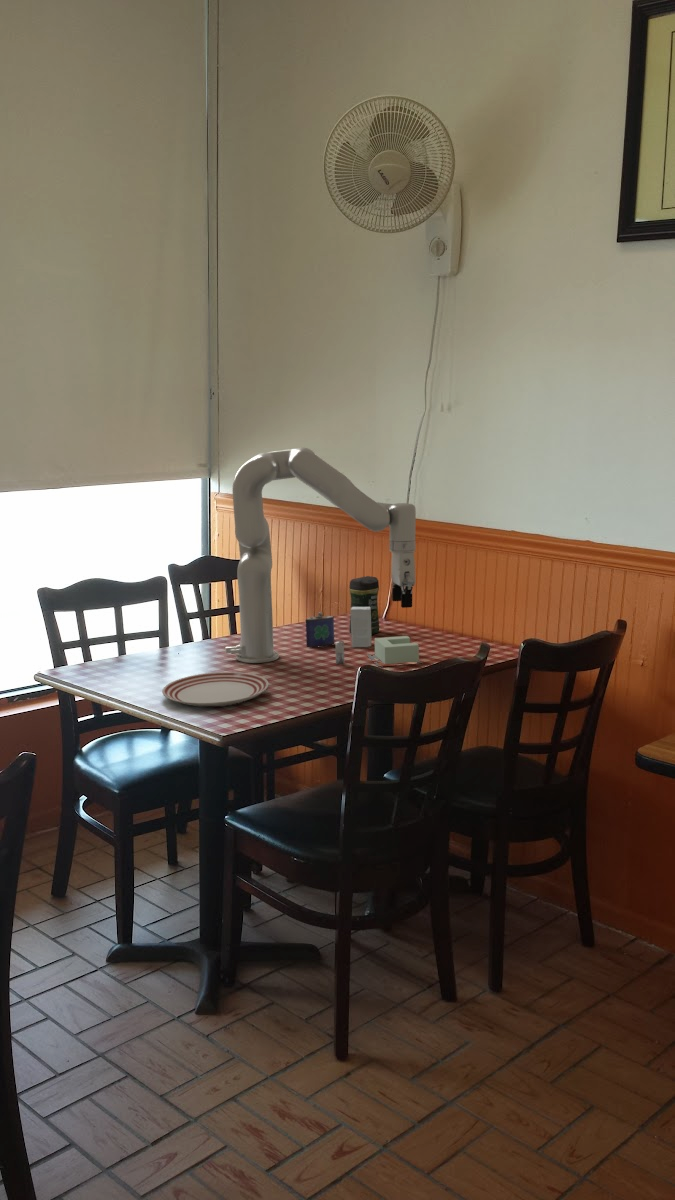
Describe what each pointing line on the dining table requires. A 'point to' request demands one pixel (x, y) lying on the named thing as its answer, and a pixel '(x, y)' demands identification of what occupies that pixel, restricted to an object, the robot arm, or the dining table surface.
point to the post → (339, 652)
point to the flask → (319, 630)
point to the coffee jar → (366, 598)
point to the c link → (396, 650)
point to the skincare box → (361, 626)
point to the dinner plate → (215, 688)
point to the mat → (378, 658)
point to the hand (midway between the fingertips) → (402, 604)
